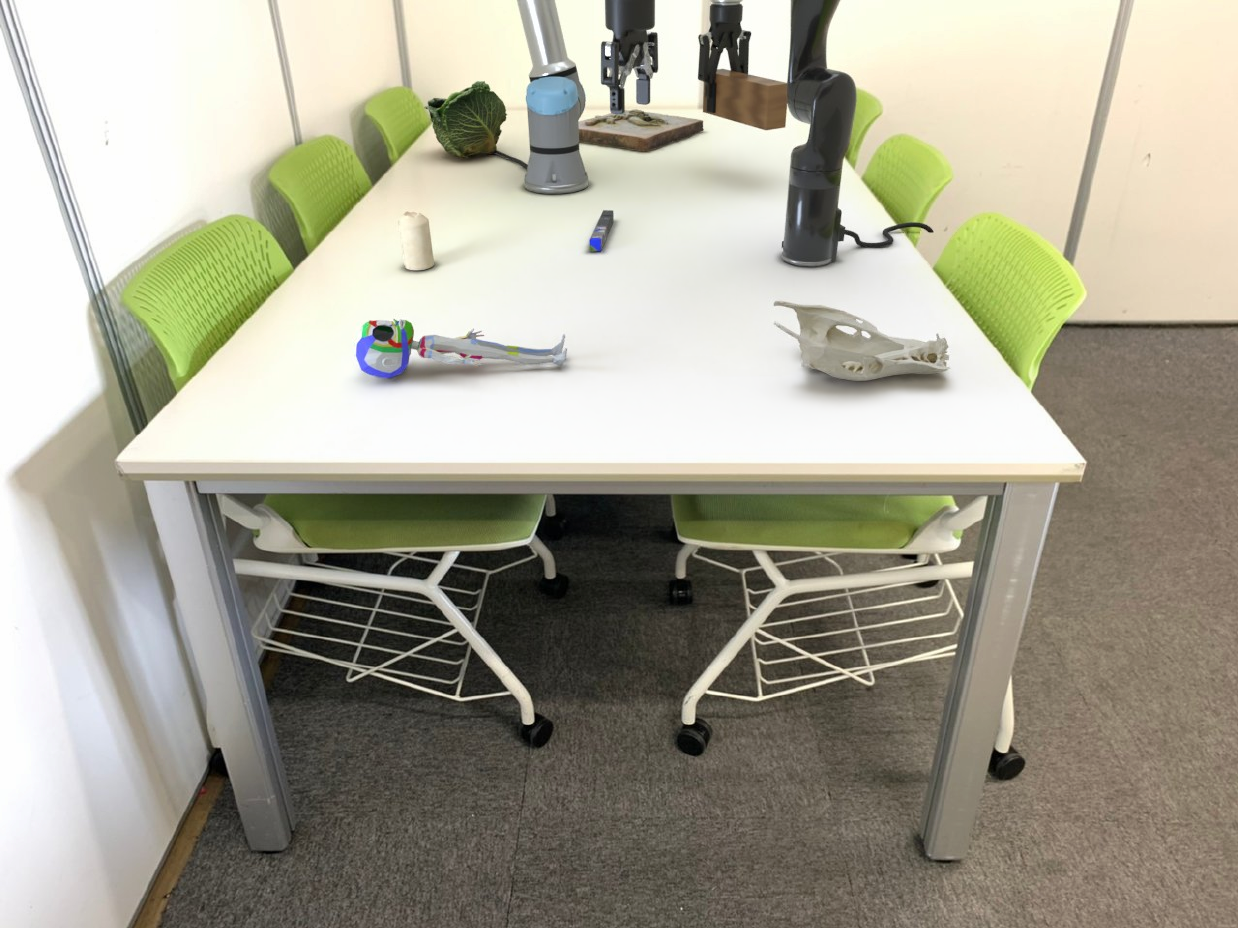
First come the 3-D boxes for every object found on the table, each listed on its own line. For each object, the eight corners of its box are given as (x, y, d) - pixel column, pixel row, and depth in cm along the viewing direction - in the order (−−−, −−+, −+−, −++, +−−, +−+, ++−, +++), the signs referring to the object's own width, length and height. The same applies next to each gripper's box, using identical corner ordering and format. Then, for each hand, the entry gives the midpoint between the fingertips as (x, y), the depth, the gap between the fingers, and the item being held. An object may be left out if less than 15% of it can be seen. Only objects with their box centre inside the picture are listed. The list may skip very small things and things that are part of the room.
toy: (569, 347, 126) (349, 329, 122) (563, 400, 131) (350, 385, 126) (565, 318, 135) (359, 301, 130) (559, 369, 139) (360, 354, 134)
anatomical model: (773, 291, 133) (948, 293, 129) (771, 347, 137) (939, 351, 134) (773, 333, 120) (966, 337, 116) (770, 393, 125) (955, 399, 121)
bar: (702, 112, 219) (703, 71, 214) (721, 109, 221) (722, 68, 216) (765, 130, 200) (768, 86, 195) (785, 127, 202) (788, 83, 197)
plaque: (647, 125, 237) (559, 112, 252) (647, 153, 241) (560, 139, 256) (706, 107, 258) (622, 97, 273) (705, 133, 262) (622, 121, 277)
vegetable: (457, 176, 250) (415, 110, 242) (515, 138, 251) (474, 71, 243) (465, 176, 232) (420, 104, 224) (527, 135, 233) (484, 62, 225)
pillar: (613, 210, 190) (600, 241, 173) (613, 220, 191) (600, 251, 174) (603, 210, 190) (589, 240, 173) (603, 220, 191) (589, 251, 174)
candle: (439, 262, 170) (432, 209, 165) (425, 272, 166) (417, 218, 161) (414, 259, 172) (406, 207, 167) (399, 269, 168) (391, 216, 162)
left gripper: (701, 7, 197) (698, 117, 210) (769, 2, 205) (762, 109, 218) (683, 4, 203) (680, 112, 215) (749, -1, 211) (743, 104, 223)
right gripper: (629, -1, 127) (629, 119, 135) (673, -10, 137) (671, 103, 146) (583, -3, 130) (587, 115, 139) (630, -11, 140) (631, 99, 149)
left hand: (721, 110), depth 216 cm, fingers closed on bar, 5 cm apart
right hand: (630, 108), depth 142 cm, fingers open, 8 cm apart
